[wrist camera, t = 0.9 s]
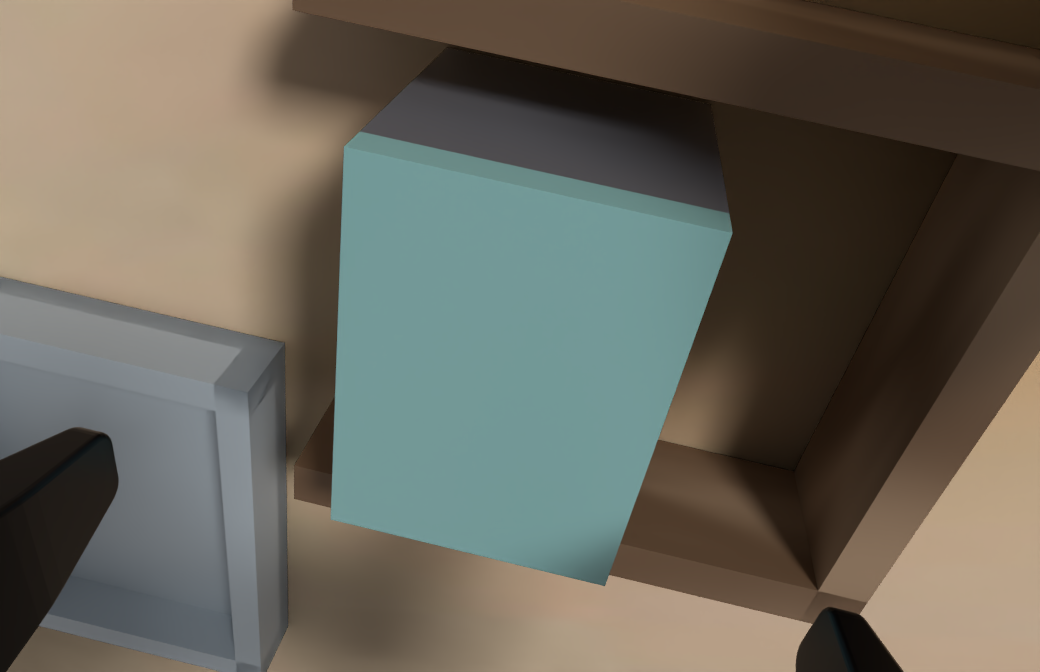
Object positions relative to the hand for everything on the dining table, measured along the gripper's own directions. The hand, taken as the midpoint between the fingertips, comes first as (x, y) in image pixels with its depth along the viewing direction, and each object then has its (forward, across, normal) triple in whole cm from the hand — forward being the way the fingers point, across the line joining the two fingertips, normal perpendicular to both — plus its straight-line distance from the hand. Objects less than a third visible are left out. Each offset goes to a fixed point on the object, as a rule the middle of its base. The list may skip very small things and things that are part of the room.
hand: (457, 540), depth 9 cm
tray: (+8, +10, +10) cm, 16 cm away
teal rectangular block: (+8, 0, 0) cm, 8 cm away
